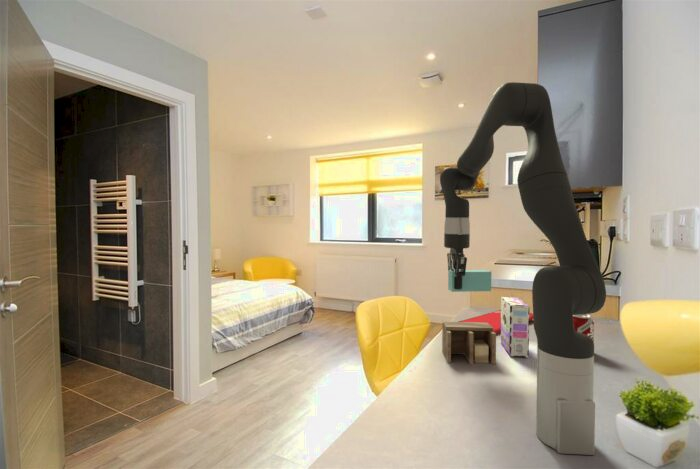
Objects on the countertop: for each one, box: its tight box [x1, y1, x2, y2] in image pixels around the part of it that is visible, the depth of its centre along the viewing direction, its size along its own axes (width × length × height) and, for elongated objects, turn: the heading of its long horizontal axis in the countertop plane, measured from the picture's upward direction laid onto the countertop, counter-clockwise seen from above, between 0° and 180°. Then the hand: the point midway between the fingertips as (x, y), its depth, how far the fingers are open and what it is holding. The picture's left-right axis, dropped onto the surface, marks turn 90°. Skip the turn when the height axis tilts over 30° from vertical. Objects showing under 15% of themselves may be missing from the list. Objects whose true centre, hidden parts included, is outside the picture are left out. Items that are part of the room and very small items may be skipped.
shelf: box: [441, 321, 497, 365], centre depth 110 cm, size 9×14×10 cm, turn 85°
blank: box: [447, 269, 492, 293], centre depth 110 cm, size 12×4×6 cm, turn 90°
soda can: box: [573, 314, 595, 343], centre depth 115 cm, size 7×7×12 cm
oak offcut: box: [473, 340, 489, 363], centre depth 110 cm, size 6×4×5 cm, turn 176°
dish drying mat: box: [457, 309, 533, 335], centre depth 147 cm, size 16×41×4 cm, turn 127°
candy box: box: [500, 296, 530, 359], centre depth 117 cm, size 14×6×16 cm, turn 168°
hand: (455, 287), depth 110 cm, fingers closed on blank, 4 cm apart
